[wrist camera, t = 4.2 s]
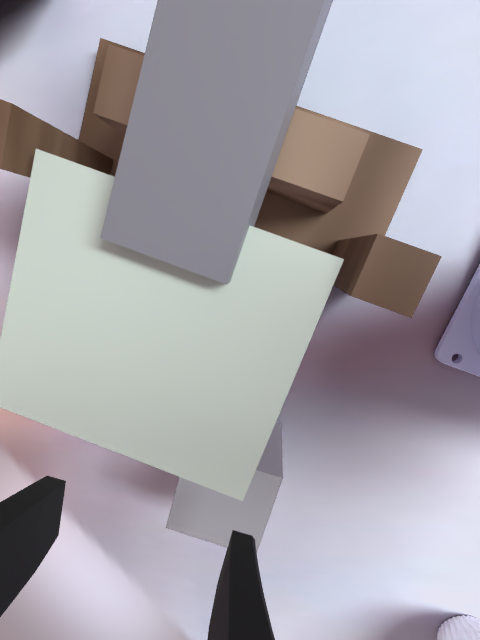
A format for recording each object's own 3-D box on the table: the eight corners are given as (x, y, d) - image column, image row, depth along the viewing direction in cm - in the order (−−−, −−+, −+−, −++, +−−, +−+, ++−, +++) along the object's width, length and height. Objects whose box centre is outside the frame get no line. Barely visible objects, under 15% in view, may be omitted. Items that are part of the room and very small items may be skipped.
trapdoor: (437, 9, 11) (486, -65, 8) (246, 471, 15) (240, 516, 12) (122, -96, 11) (76, -198, 9) (21, 385, 15) (-30, 412, 13)
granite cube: (281, 422, 20) (282, 478, 15) (260, 485, 21) (255, 557, 16) (208, 400, 20) (187, 448, 15) (191, 463, 21) (165, 527, 16)
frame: (415, 154, 16) (529, 75, 9) (356, 290, 18) (411, 318, 10) (108, 47, 17) (-23, -110, 9) (77, 189, 18) (-56, 148, 11)
